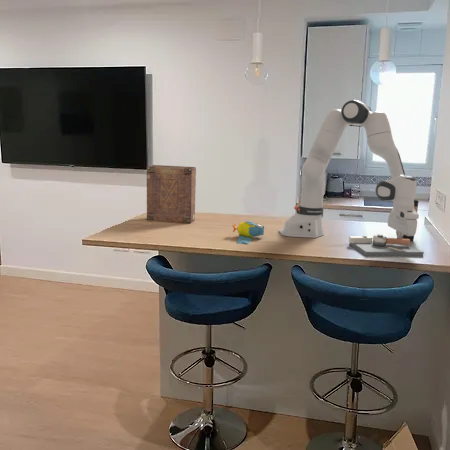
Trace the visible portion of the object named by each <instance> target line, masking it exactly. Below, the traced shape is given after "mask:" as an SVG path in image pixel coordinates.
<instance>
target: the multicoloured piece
mask: <svg viewBox="0 0 450 450" xmlns="http://www.w3.org/2000/svg"><path fill="white" fill-rule="evenodd" d="M372 241H373V243H372V244H373V245H376V246H386V244H399V245H411V243H410V239H399V238H397V237H387V236H384V235H383V234H377V235H375V234H374V235H373V236H372Z"/></svg>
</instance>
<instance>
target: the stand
mask: <svg viewBox="0 0 450 450" xmlns="http://www.w3.org/2000/svg"><path fill="white" fill-rule="evenodd" d="M372 243H373V236H367V235H364V236H361V235H360V236H359V235H357V236H356V235H355V236H353V235H352V236H351V235H350V236H349V237H348V244H349V246H350V247H352V248H353V249H355V250H356V251H358V252H359V253H361V254H362V256H365V257H398V258H399V257H401V258H402V257H410V258H411V257H414V258H415V257H416V258H417V257H424V251H422V250H421V249H418V248H417V247H415V246H413V245H411V244H410V245H399V244H386V246H376V245H373V244H372Z"/></svg>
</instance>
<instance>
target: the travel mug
mask: <svg viewBox="0 0 450 450" xmlns="http://www.w3.org/2000/svg"><path fill="white" fill-rule="evenodd" d="M418 208H419V200H417V199H414V209H415V211H416V212H417V213H418V210H419V209H418ZM414 238H415V235H414V236H406V235H404V236H403V237H402V239H410V242H411V243H412V242H414Z"/></svg>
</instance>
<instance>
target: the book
mask: <svg viewBox="0 0 450 450" xmlns="http://www.w3.org/2000/svg"><path fill="white" fill-rule="evenodd" d="M196 176H197V167H194V166H184V165H183V166H181V165H178V166H177V165H161V164H152V165H148V166H146V220H147V222H164V223H165V222H166V223H177V224H191V223H192V224H193V222H194V221H195V219H196V218H195V217H196V216H195V215H196V182H197V181H196V180H197V179H196V178H197V177H196Z"/></svg>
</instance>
